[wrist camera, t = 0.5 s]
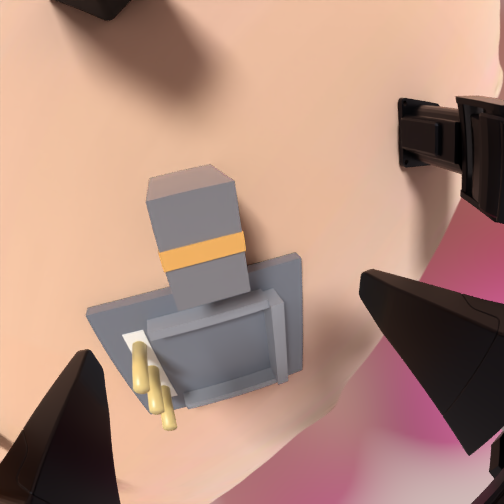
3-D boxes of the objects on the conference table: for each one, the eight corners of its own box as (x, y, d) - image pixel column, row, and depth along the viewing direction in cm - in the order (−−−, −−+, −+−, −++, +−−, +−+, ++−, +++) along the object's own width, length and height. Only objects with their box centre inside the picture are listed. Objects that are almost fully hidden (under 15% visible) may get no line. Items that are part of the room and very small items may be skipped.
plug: (210, 163, 17) (236, 180, 12) (225, 246, 20) (252, 291, 15) (148, 178, 16) (144, 202, 11) (169, 260, 19) (177, 312, 14)
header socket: (295, 252, 22) (332, 287, 18) (298, 363, 29) (321, 399, 24) (87, 307, 18) (76, 358, 14) (149, 407, 25) (155, 450, 20)
